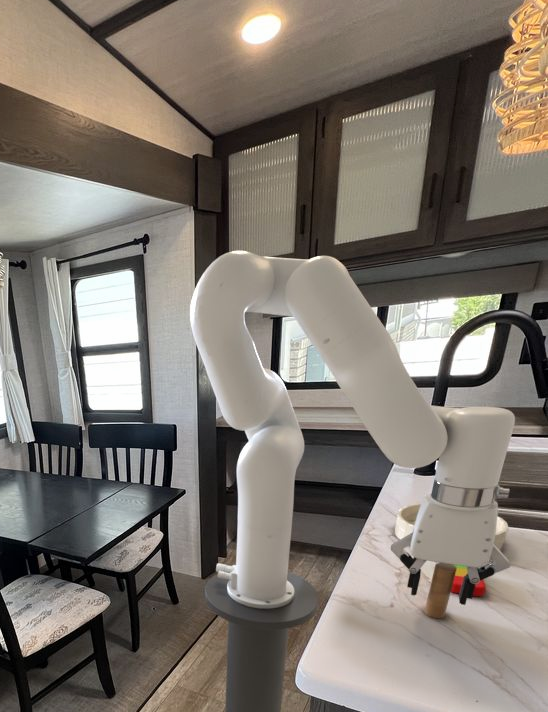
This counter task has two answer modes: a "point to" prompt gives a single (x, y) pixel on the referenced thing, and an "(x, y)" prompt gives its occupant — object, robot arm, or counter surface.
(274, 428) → the robot arm
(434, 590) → the brown cylinder
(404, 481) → the counter surface
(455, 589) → the popsicle
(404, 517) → the bowl
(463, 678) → the counter surface
